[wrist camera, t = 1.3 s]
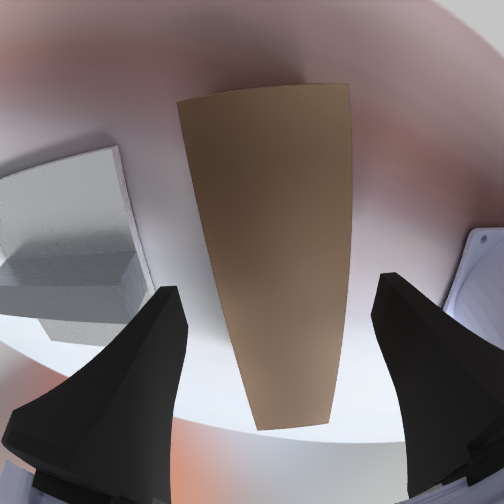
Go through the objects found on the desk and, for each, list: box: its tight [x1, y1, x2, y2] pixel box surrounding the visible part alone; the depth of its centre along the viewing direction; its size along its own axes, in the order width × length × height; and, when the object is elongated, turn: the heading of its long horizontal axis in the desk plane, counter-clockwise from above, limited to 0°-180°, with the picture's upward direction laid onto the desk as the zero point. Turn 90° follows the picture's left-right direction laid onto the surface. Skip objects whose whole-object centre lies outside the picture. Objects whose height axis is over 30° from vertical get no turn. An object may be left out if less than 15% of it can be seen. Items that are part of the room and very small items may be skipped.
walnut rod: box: [177, 83, 353, 431], centre depth 11 cm, size 4×14×5 cm, turn 7°
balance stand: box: [0, 145, 155, 347], centre depth 12 cm, size 9×11×3 cm
